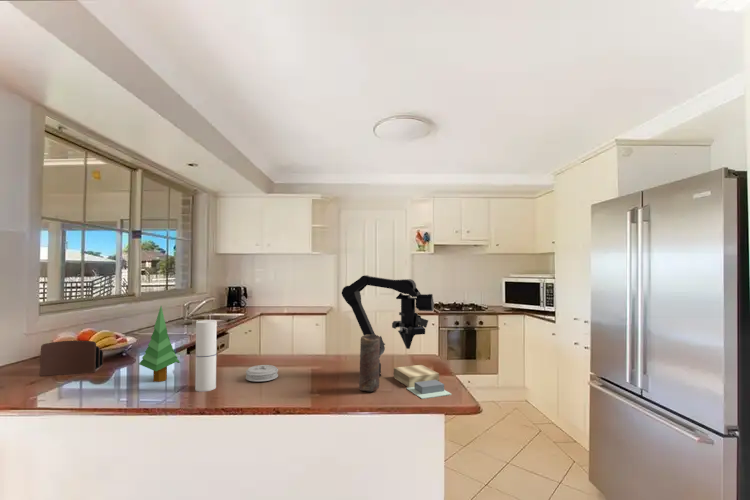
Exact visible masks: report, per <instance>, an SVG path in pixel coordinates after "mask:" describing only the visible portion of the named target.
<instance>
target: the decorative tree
mask: <svg viewBox="0 0 750 500" xmlns="http://www.w3.org/2000/svg"><path fill="white" fill-rule="evenodd" d="M153 329H154V330H153V332H152V334H151V336H150V340H149V343H148V345H147V347H146V350H145V351H144V354H143V356H142V357H141V359H142V360H141V361H140V362H139V363H138V365H139V366H142V367H144V368H147V369H149V370H152V372H153V373H152V374H153V381H152V382H154V383H155V382H156V383H160V382H165V381H166V380H167V377H168V375H167V374H168V373H167V372H168V371H167V370H168V369H167V368H168V366H170V365H173V364H176V363H177V364H181V361H180V360H179V359H178V358H179V357H178V356H177V355H176V352H175V349H174V348H173V345H172V343H171V339H170V336H169V334H168V330H167V325H166V320H165V316H164V312H163V308H162V305H160V308H159V310H158V314H157V317H156V320H155V323H154V327H153Z"/></svg>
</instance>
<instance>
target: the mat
mask: <svg viewBox="0 0 750 500" xmlns="http://www.w3.org/2000/svg"><path fill="white" fill-rule="evenodd" d="M406 390H408V391H409V392H411V393H412V394H414V395H415V396H417V397H418V398H420V399H421V400H425V399H432V398H438V397H439V398H440V397H445V396H446V397H447V396H452V393H451V392H449V391H447V390H445V389H444V391H442V392H435V393H428V394H421V393H420V392H418V391H417V390H415V387H410V388H409V387H406Z"/></svg>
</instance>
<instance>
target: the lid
mask: <svg viewBox="0 0 750 500" xmlns="http://www.w3.org/2000/svg"><path fill="white" fill-rule="evenodd" d="M278 372H279V368H277V366H275V365H271V364H260V365H259V364H258V365H253V366H250V367H248V369H246V370H245V374H246V375H245V380H247V381H250V382H267V381H268V382H269V381H272V380H276V379H277V378H278V377H279V374H278Z"/></svg>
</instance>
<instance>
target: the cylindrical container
mask: <svg viewBox="0 0 750 500" xmlns="http://www.w3.org/2000/svg"><path fill="white" fill-rule="evenodd" d="M217 321H218V320H215V319H204V320H197V321H196V322H195V388H194V389H195V391H196V392H200V393H201V392H204V393H205V392H211V391H212V390H215V389H216V388H217V327H218V325H217V324H218V323H217Z"/></svg>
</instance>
